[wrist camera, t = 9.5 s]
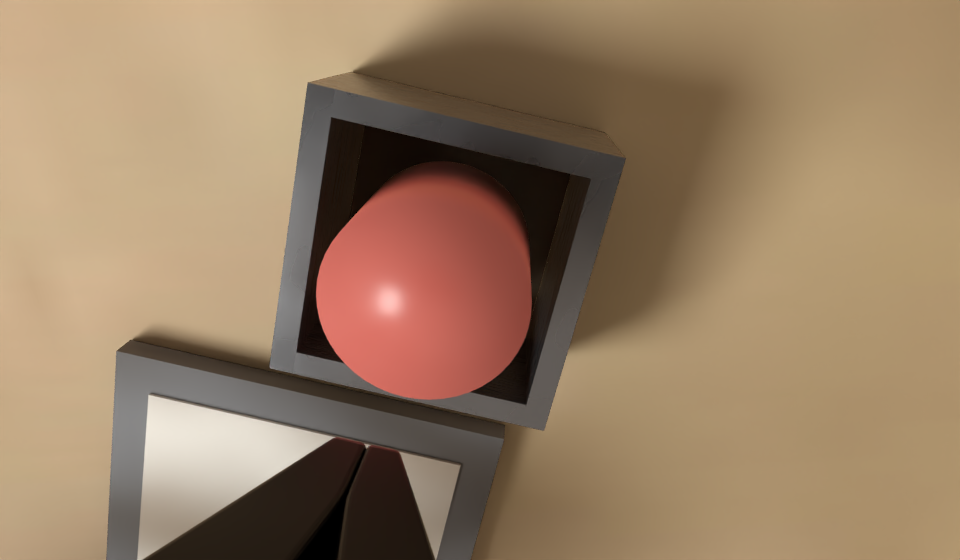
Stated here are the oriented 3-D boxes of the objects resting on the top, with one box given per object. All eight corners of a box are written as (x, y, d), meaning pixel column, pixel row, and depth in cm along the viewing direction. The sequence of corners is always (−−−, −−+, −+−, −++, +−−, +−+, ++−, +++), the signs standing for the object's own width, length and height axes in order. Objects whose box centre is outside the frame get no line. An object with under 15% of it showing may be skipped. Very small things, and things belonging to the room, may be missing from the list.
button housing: (539, 359, 21) (544, 430, 17) (314, 307, 21) (269, 368, 17) (605, 132, 19) (625, 158, 15) (350, 71, 19) (307, 82, 15)
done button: (506, 341, 19) (503, 419, 15) (346, 304, 19) (302, 373, 15) (548, 184, 17) (556, 226, 13) (374, 142, 17) (333, 174, 13)
